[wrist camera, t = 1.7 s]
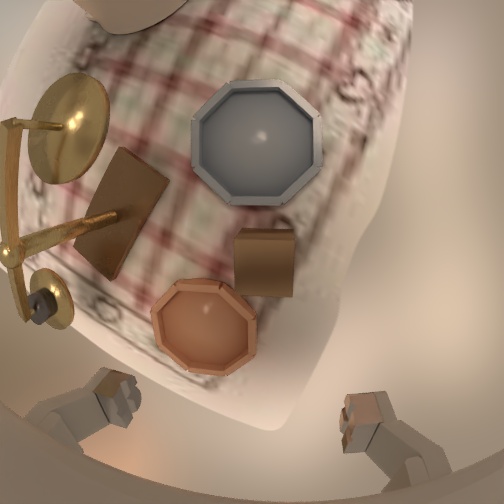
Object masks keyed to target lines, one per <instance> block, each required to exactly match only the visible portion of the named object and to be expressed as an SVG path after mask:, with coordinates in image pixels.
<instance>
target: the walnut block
mask: <svg viewBox="0 0 504 504" xmlns="http://www.w3.org/2000/svg"><path fill="white" fill-rule="evenodd" d="M294 253H295V238H294V232H293V229H256V228H242V229H241V231H240V232H239V233H238V235H237V236H236V237H235V238H234V274H235V295H242V296H266V297H292V295H293V276H294Z"/></svg>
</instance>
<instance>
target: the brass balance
mask: <svg viewBox="0 0 504 504" xmlns="http://www.w3.org/2000/svg"><path fill="white" fill-rule="evenodd" d="M109 119H110V105H109V99H108V95H107V92H106V90H105V88H104V86H103V85H102V84H101V83H100V81H98V80H97V79H96V78H93V77H91V76H88V75H86V74H83V73H72V74H68V75H66V76H64V77H62V78H60V79H59V80H57V81H56V82H55V83H54V84H52V85H51V86H50V87H49V89H48V90H47V91H46V92H45V93H44V95H43V96H42V98H41V99H40V101H39V103H38V105H37V107H36V109H35V111H34V114H33V117H32V120H24V119H17V118H16V117H14V118H11V119H7V120H4V121H1V122H0V228H1V236H2V242H1V243H0V261H1V263H2V264H3V265H4V266H5V267H7V271H8V276H9V280H10V284H11V288H12V293H13V296H14V300H15V303H16V307H17V310H18V314H19V316H20V317H21V318H22V319H23V321H24V322H25V323H26V322H27V321H28V320H30V319H31V320H32V321H33V322H34V323H36V324H38V325H41V324H42V323H43V322H45V321H46V323H48V324H49V325H50V326H52V327H53V328H55V329H60V330H62V329H65V328H66V327H67V326H69V325H70V324H71V323H72V321H73V319H74V304H73V300H72V297H71V294H70V292H69V290H68V288H67V286H66V285H65V283H64V282H63V280H62V279H61V278H60V277H59V275H57V274H56V273H55V272H54V271H52V270H51V269H48V268H42V269H40V270H37V271H36V272H34V273H33V275H32V276H31V279H30V293H31V295H29V296H27V293H26V287H25V282H24V275H23V269H22V263H23V261H24V259H25V258H27V257H29V256H32V255H34V254H36V253H39V252H41V251H44V250H46V249H48V248H51V247H53V246H56V245H58V244H61V243H64V242H66V241H69V240H71V239H74V238H76V240H75V243H74V246H73V247H74V248H75V249H76V250H77V251H78V252H79V253H80V254H81V255H82V256H83V257H84V258H85V259H86V260H87V261H88V262H89V263H91V264H92V265H93V266H94V267H95V268H96V269H97V270H98V271H99V272H100V273H101V274H103V275H104V276H105V277H106V278H107V279H108V280H109V281H110V282H111V281H112V280H114V279H115V278H116V277H117V275H118V272H119V270H120V268H121V266H122V264H123V262H124V260H125V259H126V257H127V255H128V253H129V251H130V249H131V247H132V245H133V243H134V241H135V240H136V238H137V236H138V234H139V232H140V230H141V229H142V227H143V225H144V223H145V222H146V220H147V218H148V216H149V215H150V213H151V211H152V209H153V208H154V206H155V204H156V203H157V201H158V199H159V198H160V196H161V194H162V193H163V191H164V190H165V188H166V186H167V185H168V183H169V182H170V180H168V179H167V178H166V177H164V176H163V175H162V174H160V173H159V172H158V171H156V170H155V169H154V168H152V167H151V166H150V165H148V164H147V163H145V162H144V161H143V160H141V159H140V158H139V157H137V156H136V155H135V154H133V153H132V152H131V151H129V150H128V149H126V148H125V147H119V148H118V149H117V151H116V153H115V155H114V157H113V158H112V160H111V162H110V164H109V166H108V168H107V170H106V172H105V174H104V176H103V178H102V180H101V182H100V184H99V186H98V188H97V190H96V192H95V194H94V197H93V199H92V201H91V203H90V206H89V208H88V210H87V213H86V215H85V217H84V218H80V219H77V220H73V221H70V222H67V223H63V224H60V225H57V226H54V227H50V228H47V229H44V230H41V231H38V232H35V233H32V234H29V235H26V236H23V237H20V238H19V228H18V170H19V157H20V147H21V138H22V131H23V129H29V134H28V153H29V158H30V162H31V165H32V167H33V169H34V171H35V173H36V174H37V176H38V177H39V178H40V179H41V180H43V181H44V182H46V183H49V184H63V183H69V182H73V181H75V180H77V179H78V178H80V177H81V176H82V175H84V174H85V173H86V172H87V171H88V170H89V168H90V167H91V166H92V165H93V163H94V162H95V160H96V159H97V157H98V155H99V153H100V151H101V149H102V147H103V144H104V141H105V139H106V135H107V132H108V126H109Z"/></svg>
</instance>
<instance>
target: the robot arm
mask: <svg viewBox="0 0 504 504" xmlns="http://www.w3.org/2000/svg"><path fill="white" fill-rule="evenodd" d="M73 1H74V2H75V3H76V4H77V5H79V6H80V7H81V8H82V9H83V10H85V11H86V14H85V15H86V17H87V18H88V19H89V20H92V21H97V22H98V23H99V24H100V25H101V26H102V28H103V29H104V30H105V31H107V32H109V33H112V34H128V33H133V32H137V31H140V30H142V29H145V28H147V27H150V26H152V25H154V24H156V23H158V22H160V21H161V20H163V19H165V18H166V17H168V16H169V15H171V14H172V13H173V12H175V11H176V10H177V9H178V8H180V7H181V6H182V5H183V4H184V3H185V2H186V1H187V0H73ZM136 383H137V381H136V378H135V376H133V375H130V374H126V373H123V372H119V371H116V370H112V369H108V368H105V367H103V368H100V369H99V371H98V372H97V373H96V374H95V375H94V376H93V377H92V378H91V380H90V381H89V382H88V383H87V384H86V385H85V386H84V387H83V388H77V389H75V390H72V391H69V392H67V393H64V394H61V395H58V396H55V397H52V398H49V399H46V400H43V401H40V402H38V403H37V404H36V405H35V406H34V407H33V408H32V409H31V411H29V413H28V414H27V415H26V416H25V417H24V418H22V417H21V416H19V415H18V414H16V413H15V412H14V411H12V410H11V409H10V408H8V407H7V406H6V405H5V404H3V403H2V402H1V401H0V504H504V449H502V450H500V451H499V452H497V453H495V454H493V455H491V456H489V457H487V458H485V459H483V460H481V461H479V462H476V463H474V464H472V465H470V466H468V467H465V468H463V469H460V470H458V471H455V472H453V473H452V470H451V467H450V465H449V462H448V460H447V457H446V455H445V452H444V450H443V448H442V447H440V446H439V445H437V444H435V443H434V442H432V441H431V440H429V439H428V438H426V437H425V436H423V435H422V434H420V433H419V432H418V431H416V430H414V429H413V428H412V427H410V426H409V425H407V424H406V423H404V422H403V421H401V420H397V418H396V416H395V413H394V410H393V408H392V405H391V403H390V400H389V397H388V395H387V393H386V391H379V392H370V393H359V394H347V395H346V397H345V400H344V404H345V407H344V408H343V409H342V410H341V414H340V421H339V423H340V432H342V433H343V434H344V435H343V438H342V446H343V453H357V452H365V453H366V454H367V455H368V456H369V457H370V458H371V459H372V461H373V462H374V463H375V464H376V465H377V466H378V467H379V468H380V469H381V470H382V471H383V472H384V473H385V474H386V475H387V476H388V477H389V478H390V479H391V480H390V482H389V483H388V484H387V485H386V486H385V487H384V489H383V490H382V491H381V493H380V494H375V495H369V496H363V497H356V498H348V499H339V500H329V501H312V502H271V501H254V500H244V499H235V498H228V497H221V496H214V495H208V494H202V493H198V492H193V491H189V490H184V489H180V488H176V487H172V486H168V485H164V484H161V483H157V482H154V481H151V480H148V479H144V478H141V477H138V476H136V475H133V474H130V473H127V472H125V471H122V470H119V469H117V468H114V467H112V466H109V465H107V464H105V463H102V462H100V461H97V460H96V459H93V458H91V457H89V456H87V455H85V454H83V453H84V451H83V449H82V448H81V446H80V445H79V444H78V442H80V441H81V440H83V439H85V438H87V437H88V436H90V435H92V434H94V433H95V432H97V431H99V430H100V429H102V428H104V427H106V426H107V425H109V423H111V424H114V425H117V426H120V427H123V428H127V427H128V425H129V424H130V422H131V420H132V419H133V416H132V413H133V412H136V411H137V410H138V408H139V407H140V404H141V393H140V390H139V389H138V388H137V387H136V386H135V385H136Z"/></svg>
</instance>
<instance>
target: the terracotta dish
mask: <svg viewBox="0 0 504 504" xmlns="http://www.w3.org/2000/svg"><path fill="white" fill-rule="evenodd" d="M150 313H151V319H152V324H153V330H154V335H155V340H156V344H157V345H159V346H158V347H159V348H160V349H161V350H162V351H163V352H164V353H166V354H167V355H168V356H169V357H170V358H171V359H173V360H174V361H175V362H176V363H177V364H178V365H180V366H181V367H182V368H183V369H185V370H188V371H189V372H193V373H200V374H208V375H217V376H225V374H226V375H227V376H228V375H229V374H231V373H232V372H234V371H235V370H237V369H238V368H240V367H241V366H243V365H244V364H246V363H247V362H248V361H250V360H251V359H253V358H254V357H255V355H256V350H257V315H255V311H254V310H253V309H252V308H251V307H250V306H249V304H248V303H247V302H246V300H245V299H244V298H243V297H242V296H241V295H235V290H233V289H232V288H230V287H229V286H227V285H226V284H225V283H224V284H223V283H221V281H214V280H210V279H202V278H196V279H188V280H183V279H180V280H179V281H178V280H177V281H176V282H175V283H174V284H173V285H172V287H171V288H170V289H169V290H168V291H167V292H166V293H165V294H164V295H163V296H162V297H161V298H160V299H159V301H158V302H157V303H156V304H155V305H154V306H153V307H152V308H151V311H150Z"/></svg>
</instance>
